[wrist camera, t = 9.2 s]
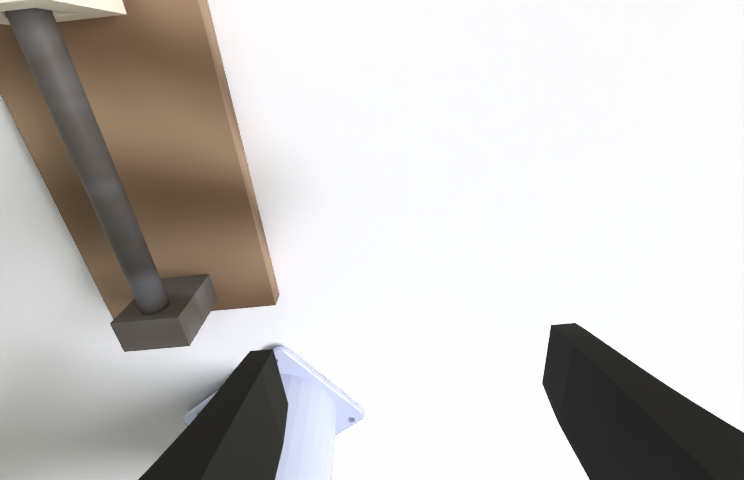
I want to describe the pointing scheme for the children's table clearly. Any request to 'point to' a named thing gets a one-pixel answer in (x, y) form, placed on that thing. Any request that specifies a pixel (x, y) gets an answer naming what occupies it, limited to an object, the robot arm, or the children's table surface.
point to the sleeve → (66, 8)
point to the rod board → (142, 161)
